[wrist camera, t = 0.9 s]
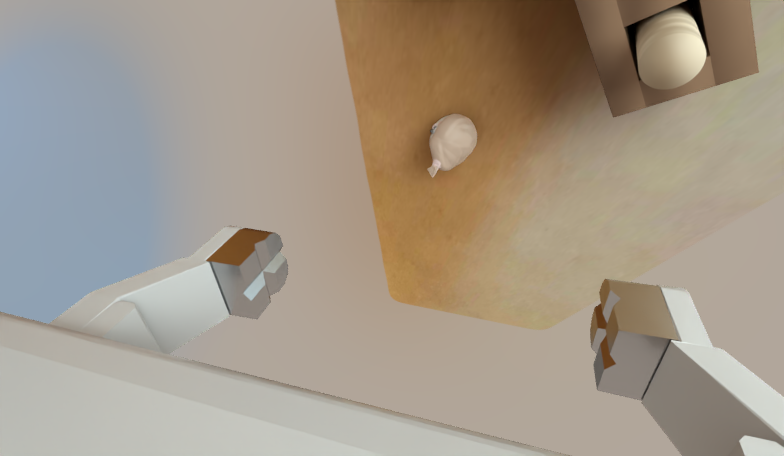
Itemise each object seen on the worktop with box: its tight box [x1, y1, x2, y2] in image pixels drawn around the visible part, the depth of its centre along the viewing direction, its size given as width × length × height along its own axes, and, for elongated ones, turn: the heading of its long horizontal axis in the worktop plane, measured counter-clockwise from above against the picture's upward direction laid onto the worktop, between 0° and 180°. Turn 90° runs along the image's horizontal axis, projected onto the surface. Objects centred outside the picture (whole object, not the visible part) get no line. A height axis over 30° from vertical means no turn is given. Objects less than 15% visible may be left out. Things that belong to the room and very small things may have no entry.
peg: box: [635, 0, 706, 90], centre depth 32 cm, size 4×4×9 cm
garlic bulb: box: [428, 114, 477, 178], centre depth 52 cm, size 7×6×8 cm
